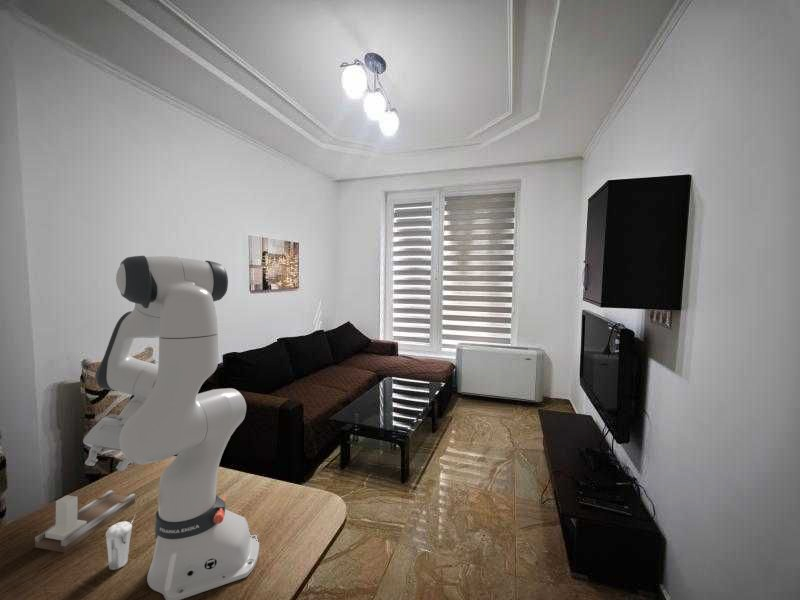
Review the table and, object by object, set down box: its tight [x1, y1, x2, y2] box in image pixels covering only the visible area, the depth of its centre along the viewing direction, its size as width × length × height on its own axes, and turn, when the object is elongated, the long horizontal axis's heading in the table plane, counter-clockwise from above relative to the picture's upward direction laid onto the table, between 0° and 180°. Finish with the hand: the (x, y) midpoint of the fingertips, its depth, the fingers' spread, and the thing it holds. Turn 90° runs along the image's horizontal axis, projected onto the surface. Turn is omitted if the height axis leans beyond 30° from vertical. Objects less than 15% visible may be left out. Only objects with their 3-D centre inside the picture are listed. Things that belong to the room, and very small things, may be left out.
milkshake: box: [105, 513, 137, 571], centre depth 76 cm, size 4×5×10 cm
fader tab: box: [45, 494, 87, 541], centre depth 81 cm, size 5×5×8 cm
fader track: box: [34, 489, 136, 554], centre depth 87 cm, size 18×8×3 cm, turn 173°
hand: (104, 467), depth 90 cm, fingers open, 8 cm apart
